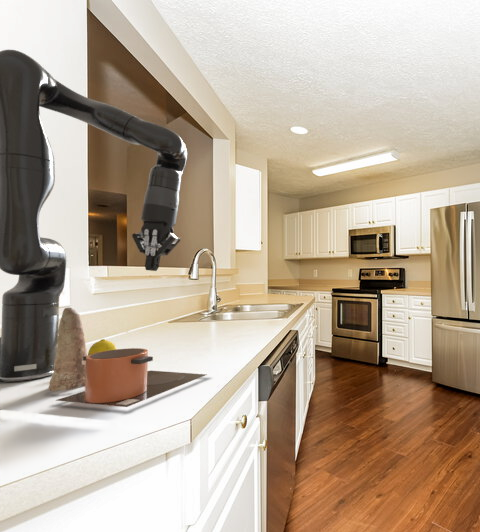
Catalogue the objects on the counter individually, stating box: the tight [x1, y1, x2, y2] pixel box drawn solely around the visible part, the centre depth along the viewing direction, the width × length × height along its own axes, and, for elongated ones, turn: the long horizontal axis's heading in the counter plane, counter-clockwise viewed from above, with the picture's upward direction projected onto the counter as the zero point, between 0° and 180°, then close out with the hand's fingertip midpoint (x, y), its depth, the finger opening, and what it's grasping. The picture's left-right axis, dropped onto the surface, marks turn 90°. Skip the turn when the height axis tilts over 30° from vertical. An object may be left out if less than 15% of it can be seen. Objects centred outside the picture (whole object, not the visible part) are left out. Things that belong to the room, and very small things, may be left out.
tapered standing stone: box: [48, 307, 88, 392], centre depth 71 cm, size 6×18×6 cm
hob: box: [55, 370, 208, 408], centre depth 72 cm, size 16×20×1 cm
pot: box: [83, 347, 154, 404], centre depth 67 cm, size 13×9×8 cm
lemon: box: [87, 338, 117, 356], centre depth 86 cm, size 6×6×8 cm
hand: (151, 270), depth 89 cm, fingers closed
